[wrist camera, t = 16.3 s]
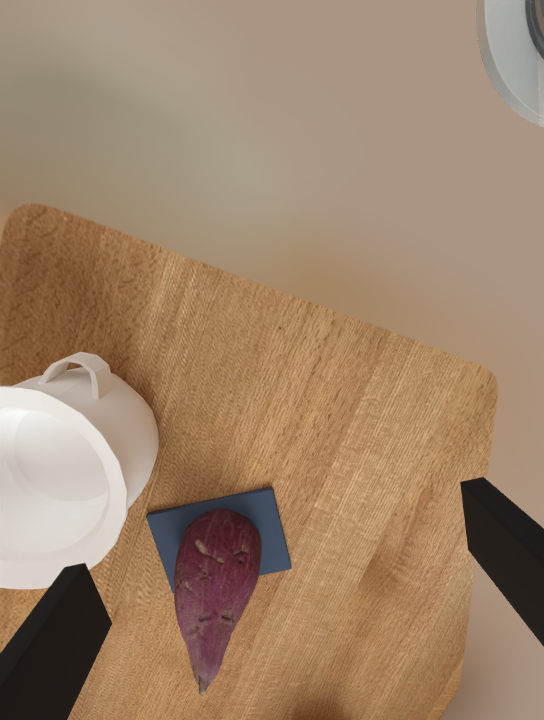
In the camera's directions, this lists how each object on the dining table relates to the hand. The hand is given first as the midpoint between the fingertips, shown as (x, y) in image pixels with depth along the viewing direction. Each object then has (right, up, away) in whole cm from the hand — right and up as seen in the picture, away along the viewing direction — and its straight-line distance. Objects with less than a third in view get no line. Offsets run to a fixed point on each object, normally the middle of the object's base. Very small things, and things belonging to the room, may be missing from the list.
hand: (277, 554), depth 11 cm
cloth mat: (-7, -17, +29) cm, 34 cm away
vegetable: (-7, -17, +29) cm, 34 cm away
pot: (-21, -2, +26) cm, 33 cm away
